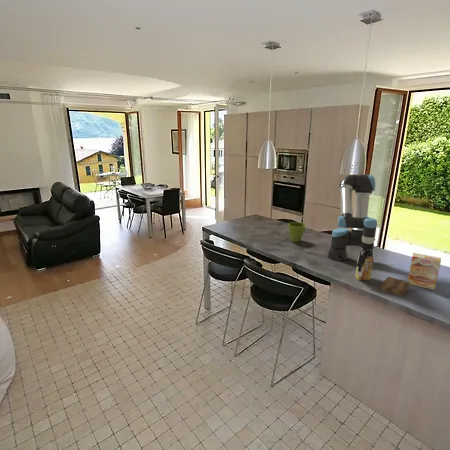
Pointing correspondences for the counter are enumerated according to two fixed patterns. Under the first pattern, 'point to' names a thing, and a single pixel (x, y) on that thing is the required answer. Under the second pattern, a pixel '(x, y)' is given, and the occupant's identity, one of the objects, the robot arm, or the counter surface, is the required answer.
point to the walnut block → (395, 286)
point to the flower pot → (296, 231)
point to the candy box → (365, 269)
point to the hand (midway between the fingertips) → (363, 273)
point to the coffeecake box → (424, 270)
